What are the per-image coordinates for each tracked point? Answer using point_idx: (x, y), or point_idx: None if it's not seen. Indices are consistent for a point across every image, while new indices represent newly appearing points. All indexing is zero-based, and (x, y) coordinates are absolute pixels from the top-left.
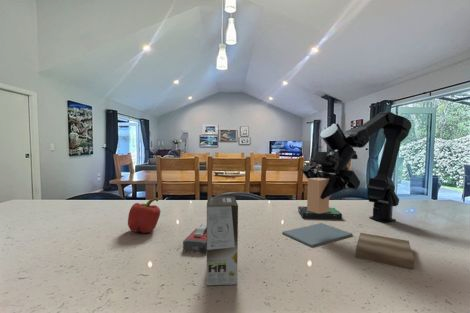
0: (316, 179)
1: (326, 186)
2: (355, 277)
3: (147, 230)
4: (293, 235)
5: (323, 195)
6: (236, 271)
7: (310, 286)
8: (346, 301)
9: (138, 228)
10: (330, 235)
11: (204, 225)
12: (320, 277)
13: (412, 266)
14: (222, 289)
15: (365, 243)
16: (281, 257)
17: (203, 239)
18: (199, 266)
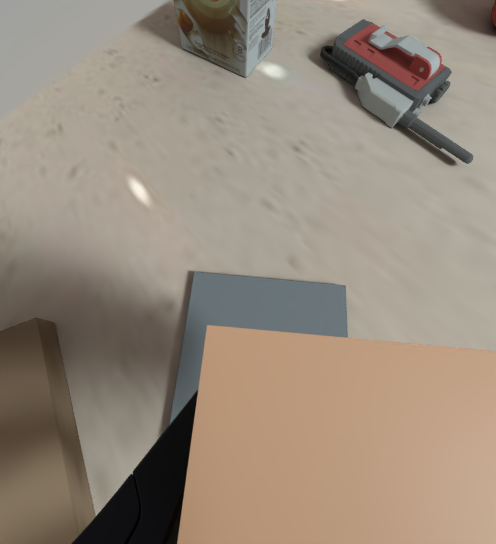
0: (337, 400)
1: (168, 498)
2: (19, 214)
3: (492, 13)
4: (292, 290)
5: (195, 396)
6: (177, 20)
7: (83, 122)
8: (9, 130)
9: None
10: None
11: (429, 55)
12: (84, 158)
13: None
14: None
15: (19, 412)
16: (205, 162)
17: (355, 45)
18: (275, 38)
